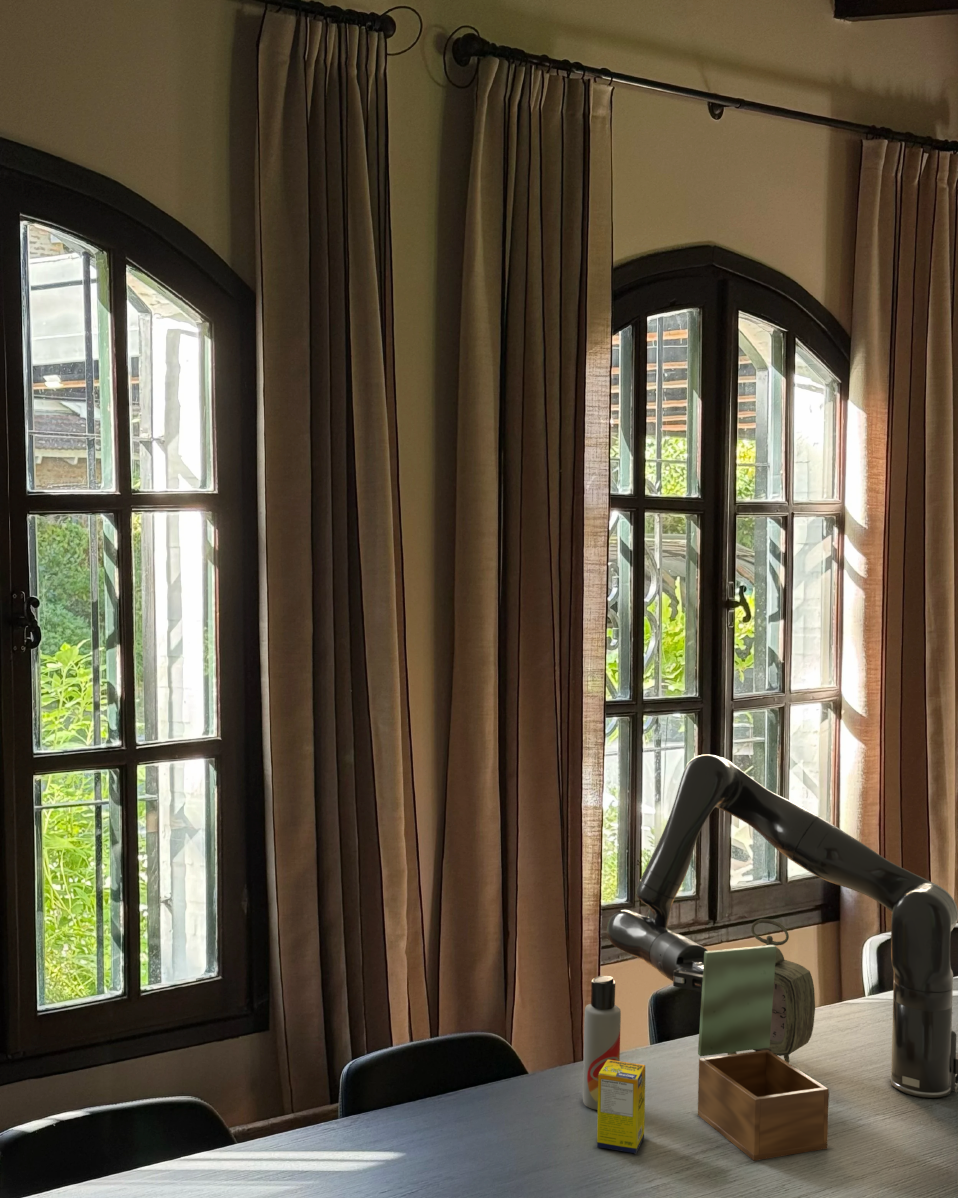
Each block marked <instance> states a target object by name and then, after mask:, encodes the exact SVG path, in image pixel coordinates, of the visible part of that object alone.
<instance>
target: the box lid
mask: <svg viewBox="0 0 958 1198" xmlns="http://www.w3.org/2000/svg"><path fill="white" fill-rule="evenodd" d="M765 945H766V944H765ZM776 947H777V946H776V945H766V946H763V945H757V946H747V947H735V948H726V949H724V948H723V949H713V950H708V951H705V952H704V966H703V982H702V992H701V998H700V1012H699V1013H700V1016H699V1030H698V1032H699V1033H698V1044H697V1045H698V1046H697V1055H698V1056H699V1057H707V1056H712V1055H713V1056H714V1055H722V1054H727V1053H731V1052H736V1053H738V1052H739V1053H740V1052H745V1051H754V1049H762V1048H769V1047H770V1032H771V1018H772V1003H773V989H774V974H775V960H776Z"/></svg>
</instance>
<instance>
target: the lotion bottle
mask: <svg viewBox="0 0 958 1198" xmlns="http://www.w3.org/2000/svg"><path fill="white" fill-rule="evenodd" d="M590 987H591V988H590V1003H588V1004H586V1006H585V1007H584V1020H583V1021H584V1023H583V1026H584V1027H583V1064H582V1065H583V1069H582V1102H583V1105H585V1106H586V1107H587V1108H588V1109H591V1110H595V1111H598V1074H599V1072H600V1071H601V1069H602V1067H603V1066H604V1064H605V1063H606V1061H607V1060H608V1059H609V1060H615V1061H621V1060H620V1059H621V1024H622V1023H621V1021H622V1020H621V1019H622V1018H621V1016H622V1013H621V1008H620V1007H619V1006H618V1005H616V980H615V979H614V977H613V976H611V975H597V976H595V977H594V978H592V979H591V981H590Z"/></svg>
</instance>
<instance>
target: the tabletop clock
mask: <svg viewBox="0 0 958 1198" xmlns="http://www.w3.org/2000/svg"><path fill="white" fill-rule="evenodd" d="M759 924H769V925H773V926H776V927H778V928H779V929H781V930H782V931H783V932H784V934H785V939H784V940H780V941H776V940H774V938H773V936H772V935H767V936H766V938H763V937H761V936H760V935H758V934H757V933H756V932H755V927H756V926H758V925H759ZM750 930H751V933H752V935H753V937H754V938H755V939H756V940H757V941H759V942H761V943H763V944H764V945H762V946H766V945H775V946H776V960H775V974H774V989H773V1003H772V1018H771V1032H770V1047H769V1048H762V1049H754V1050H753V1052H755V1051H762V1050H769V1051H771V1052H772V1053H774V1054H775V1055H777V1056H778V1057H783V1060H785V1061H786V1062H788V1063H789V1064H790V1054H793V1053H794V1052H796V1051H797V1050H799V1049H800V1048H802V1047H803V1046H805V1045H807V1044H808V1043H809V1041H810V1040H811V1037H812V1035H813V1030H814V1023H815V1014H816V996H815V995H816V994H815V985H814V980H813V976H812V974H811V971H810V970H809V969H808V968H806V967H805V966H803V965H802V964H799V963H797V962H793V961H791V960H788V959H785V956H784V955H783V952H782V951H781V949H780V948H779V947H778V946H782V945H785V944H786V943H788V941H789V940H790V939H789V938H790V937H789V932H788V929H787V928H786V927H785V926H784V925H783V924H781V923H780V922H778V921H776V920H774V919H769V918H761V919H757V920H756V921H754V922H753V923H752V925H751V929H750ZM732 1054H738V1052H731V1053H726V1055H732Z"/></svg>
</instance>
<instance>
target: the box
mask: <svg viewBox="0 0 958 1198" xmlns="http://www.w3.org/2000/svg"><path fill="white" fill-rule="evenodd" d="M697 1084H698V1087H697V1116H699V1117H700V1119H702V1120H703V1121H704V1122H706V1123H707V1124H708V1125H710V1126H711V1128H713V1129H715V1130H716V1132H718V1133H719V1134H720V1135H722V1136H723V1137H724V1138H726V1139H727V1140H728V1142H731V1143H732V1145H734V1146H735V1147H736V1148H738V1149H739V1150H740V1151H741V1152H743V1153H744V1154H745V1155H746V1156H747V1157H748V1158H750V1159H751V1160H752V1161H761V1160H767V1159H773V1158H779V1157H785V1156H790V1155H797V1154H803V1153H809V1152H815V1151H821V1150H827V1149H828V1142H829V1141H828V1140H829V1139H828V1136H829V1104H830V1103H829V1102H830V1101H829V1098H830V1097H829V1096H830V1089H829V1088H828V1087H826V1086H825V1085H824V1084H822V1083H820V1082H819V1081H817V1080H815V1079H814V1078H813V1077H811V1076H809V1075H808V1074H807V1073H805V1072H803V1071H801V1070H800V1069H798V1068H797V1067H795V1066H794V1065H792V1064H791V1063H790V1062H789V1063H788V1062H786V1061H785V1059H784V1058H782V1057H781V1056H777V1055H775V1054H774V1053H772V1052H771V1051H769V1050H762V1051H748V1052H739V1053H737V1054H732V1055H727V1054H726V1055H725V1054H724V1055H717V1056H710V1057H702V1058H699V1059H698V1082H697Z"/></svg>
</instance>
